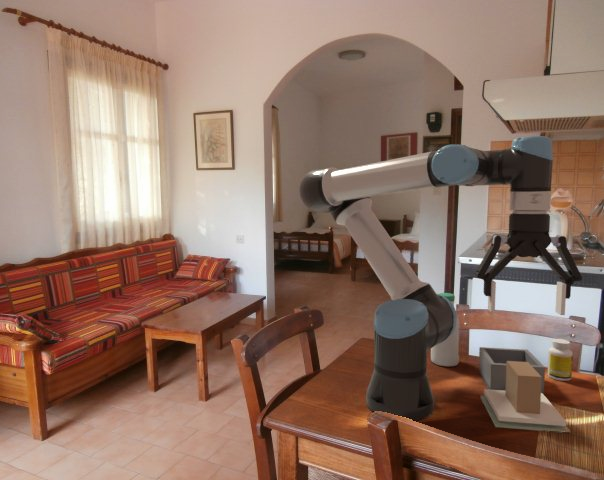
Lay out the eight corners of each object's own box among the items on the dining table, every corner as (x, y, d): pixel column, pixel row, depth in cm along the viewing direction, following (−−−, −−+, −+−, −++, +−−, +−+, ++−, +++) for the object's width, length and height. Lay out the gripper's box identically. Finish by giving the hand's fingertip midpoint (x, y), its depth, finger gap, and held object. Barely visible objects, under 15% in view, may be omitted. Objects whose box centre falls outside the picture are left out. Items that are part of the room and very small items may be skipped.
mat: (495, 426, 86) (495, 424, 86) (480, 397, 99) (480, 395, 99) (569, 433, 84) (570, 430, 84) (544, 402, 96) (544, 400, 96)
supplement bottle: (575, 382, 107) (577, 345, 106) (551, 380, 108) (553, 343, 107) (566, 373, 112) (568, 338, 111) (544, 372, 113) (545, 337, 112)
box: (490, 392, 102) (491, 364, 101) (478, 372, 114) (479, 347, 113) (543, 395, 100) (545, 367, 99) (526, 375, 111) (527, 349, 111)
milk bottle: (457, 369, 116) (459, 298, 114) (428, 364, 119) (430, 295, 117) (460, 359, 123) (461, 292, 121) (432, 355, 126) (434, 290, 124)
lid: (498, 424, 86) (500, 378, 85) (483, 396, 99) (485, 356, 98) (565, 429, 84) (568, 383, 83) (541, 400, 96) (543, 359, 95)
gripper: (470, 213, 86) (467, 314, 88) (605, 213, 81) (599, 319, 83) (462, 212, 93) (460, 305, 95) (586, 211, 89) (581, 309, 91)
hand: (525, 312), depth 89 cm, fingers open, 13 cm apart
